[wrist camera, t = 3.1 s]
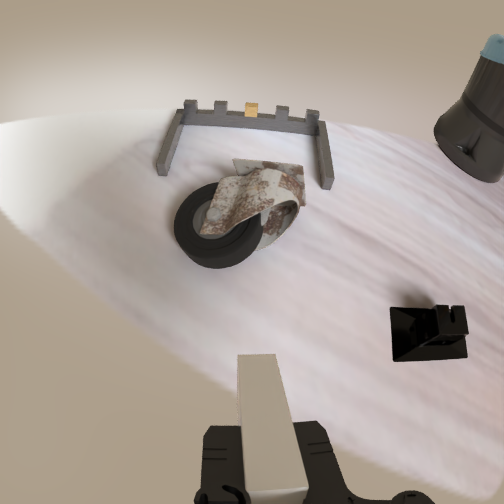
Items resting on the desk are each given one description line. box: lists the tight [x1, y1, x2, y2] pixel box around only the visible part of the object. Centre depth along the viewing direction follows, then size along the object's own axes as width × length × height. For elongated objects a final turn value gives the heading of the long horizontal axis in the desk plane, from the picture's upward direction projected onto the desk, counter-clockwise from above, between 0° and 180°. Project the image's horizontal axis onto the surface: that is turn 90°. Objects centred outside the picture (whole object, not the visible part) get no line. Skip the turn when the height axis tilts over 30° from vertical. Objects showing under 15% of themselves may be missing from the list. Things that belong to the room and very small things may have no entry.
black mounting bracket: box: [390, 305, 469, 362], centre depth 27 cm, size 12×7×5 cm, turn 86°
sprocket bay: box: [156, 100, 334, 190], centre depth 38 cm, size 20×11×4 cm, turn 87°
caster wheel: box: [174, 159, 306, 269], centre depth 31 cm, size 7×11×10 cm
